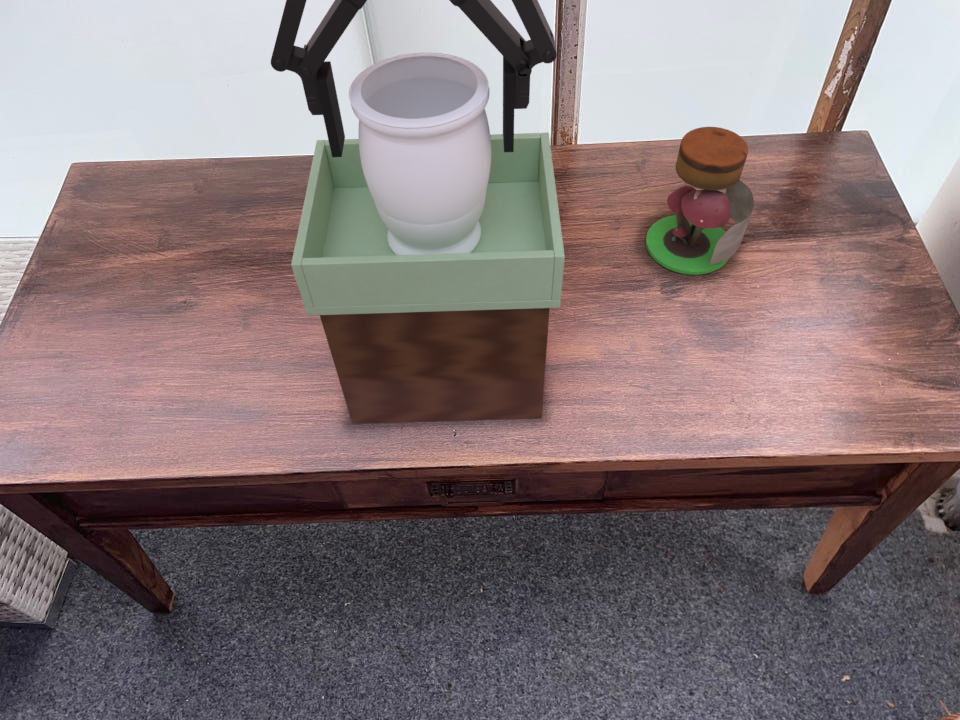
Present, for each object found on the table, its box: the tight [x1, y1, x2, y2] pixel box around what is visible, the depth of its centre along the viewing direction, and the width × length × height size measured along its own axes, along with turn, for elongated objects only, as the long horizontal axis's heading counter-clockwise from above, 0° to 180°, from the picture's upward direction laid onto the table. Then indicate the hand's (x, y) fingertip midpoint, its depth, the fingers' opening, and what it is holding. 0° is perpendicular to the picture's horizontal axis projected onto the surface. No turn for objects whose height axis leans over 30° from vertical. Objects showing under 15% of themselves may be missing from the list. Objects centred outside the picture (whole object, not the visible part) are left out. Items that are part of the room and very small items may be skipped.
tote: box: [290, 132, 566, 316], centre depth 64 cm, size 22×17×6 cm
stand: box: [319, 308, 551, 425], centre depth 74 cm, size 20×15×18 cm
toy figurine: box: [645, 126, 755, 276], centre depth 85 cm, size 12×13×15 cm
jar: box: [348, 52, 491, 255], centre depth 60 cm, size 11×10×15 cm
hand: (423, 145), depth 58 cm, fingers open, 13 cm apart
